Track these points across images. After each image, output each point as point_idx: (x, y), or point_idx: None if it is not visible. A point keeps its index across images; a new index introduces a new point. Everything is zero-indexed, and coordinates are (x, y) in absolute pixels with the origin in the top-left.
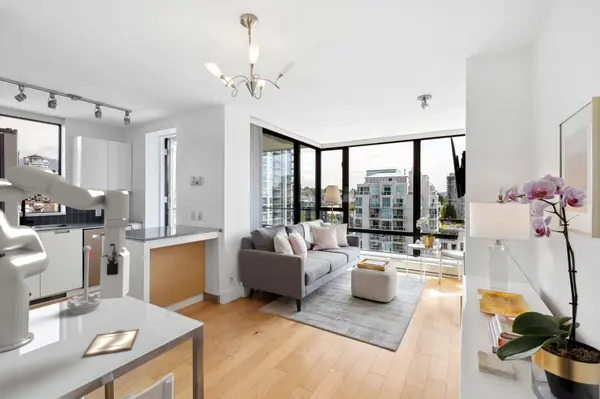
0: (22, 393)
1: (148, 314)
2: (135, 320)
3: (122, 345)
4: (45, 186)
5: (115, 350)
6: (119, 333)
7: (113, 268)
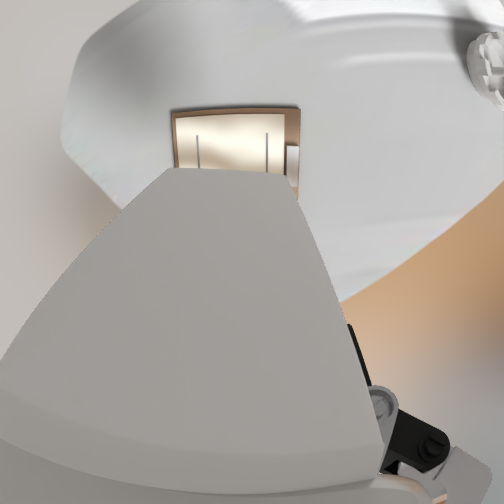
0: (72, 73)
1: (397, 226)
2: (372, 197)
3: None
4: None
5: None
6: (280, 171)
7: None
